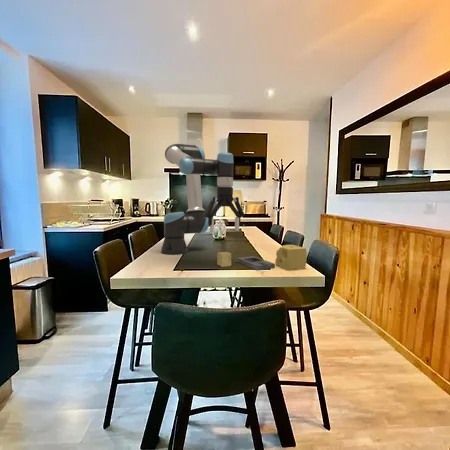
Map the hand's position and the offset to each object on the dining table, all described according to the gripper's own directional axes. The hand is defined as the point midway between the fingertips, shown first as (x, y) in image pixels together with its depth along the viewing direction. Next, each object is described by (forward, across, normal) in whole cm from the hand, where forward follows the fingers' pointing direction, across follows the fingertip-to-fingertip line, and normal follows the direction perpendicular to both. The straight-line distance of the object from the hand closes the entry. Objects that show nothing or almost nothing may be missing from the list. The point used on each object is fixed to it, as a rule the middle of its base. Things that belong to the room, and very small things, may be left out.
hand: (224, 231), depth 133 cm
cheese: (+17, +27, -17) cm, 36 cm away
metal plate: (+16, +14, -6) cm, 22 cm away
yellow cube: (+16, 0, 0) cm, 17 cm away
